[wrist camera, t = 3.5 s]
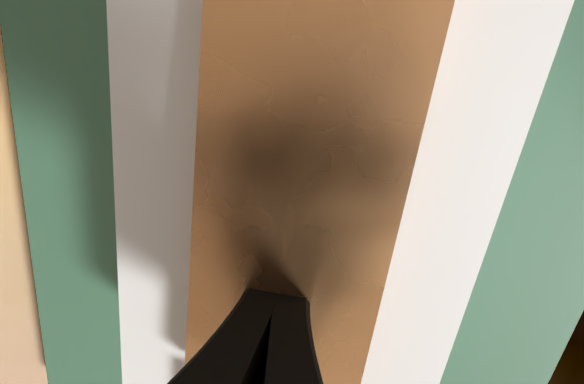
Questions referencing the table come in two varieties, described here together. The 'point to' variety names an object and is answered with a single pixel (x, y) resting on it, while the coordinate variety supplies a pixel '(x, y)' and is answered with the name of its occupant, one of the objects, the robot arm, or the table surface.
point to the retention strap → (307, 159)
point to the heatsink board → (87, 207)
